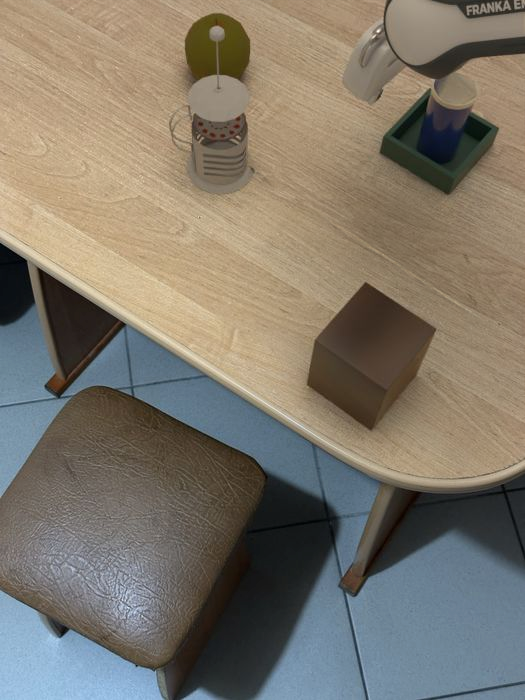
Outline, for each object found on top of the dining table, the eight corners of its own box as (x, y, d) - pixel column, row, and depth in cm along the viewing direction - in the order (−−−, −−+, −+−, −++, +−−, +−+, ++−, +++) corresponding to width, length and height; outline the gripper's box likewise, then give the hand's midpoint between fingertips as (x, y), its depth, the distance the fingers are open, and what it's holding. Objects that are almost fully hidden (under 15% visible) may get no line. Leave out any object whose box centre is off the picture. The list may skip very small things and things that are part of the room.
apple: (235, 108, 126) (235, 51, 116) (176, 90, 127) (171, 32, 117) (259, 62, 130) (261, 4, 120) (201, 45, 131) (198, -14, 122)
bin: (491, 148, 124) (499, 127, 120) (447, 198, 119) (454, 179, 115) (423, 108, 127) (429, 87, 123) (378, 156, 122) (383, 135, 118)
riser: (416, 374, 106) (436, 328, 96) (371, 431, 102) (387, 390, 92) (352, 330, 109) (365, 281, 98) (306, 384, 105) (314, 339, 94)
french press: (260, 188, 119) (266, 52, 97) (180, 200, 118) (166, 65, 95) (247, 136, 123) (249, -6, 101) (169, 147, 122) (154, 6, 100)
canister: (465, 146, 123) (487, 85, 112) (442, 172, 120) (463, 112, 110) (430, 125, 124) (448, 63, 114) (407, 150, 122) (423, 90, 111)
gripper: (391, 58, 83) (360, 142, 96) (508, -43, 90) (464, 47, 103) (343, 20, 84) (318, 109, 97) (462, -77, 91) (425, 17, 104)
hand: (394, 76), depth 100 cm, fingers open, 8 cm apart
